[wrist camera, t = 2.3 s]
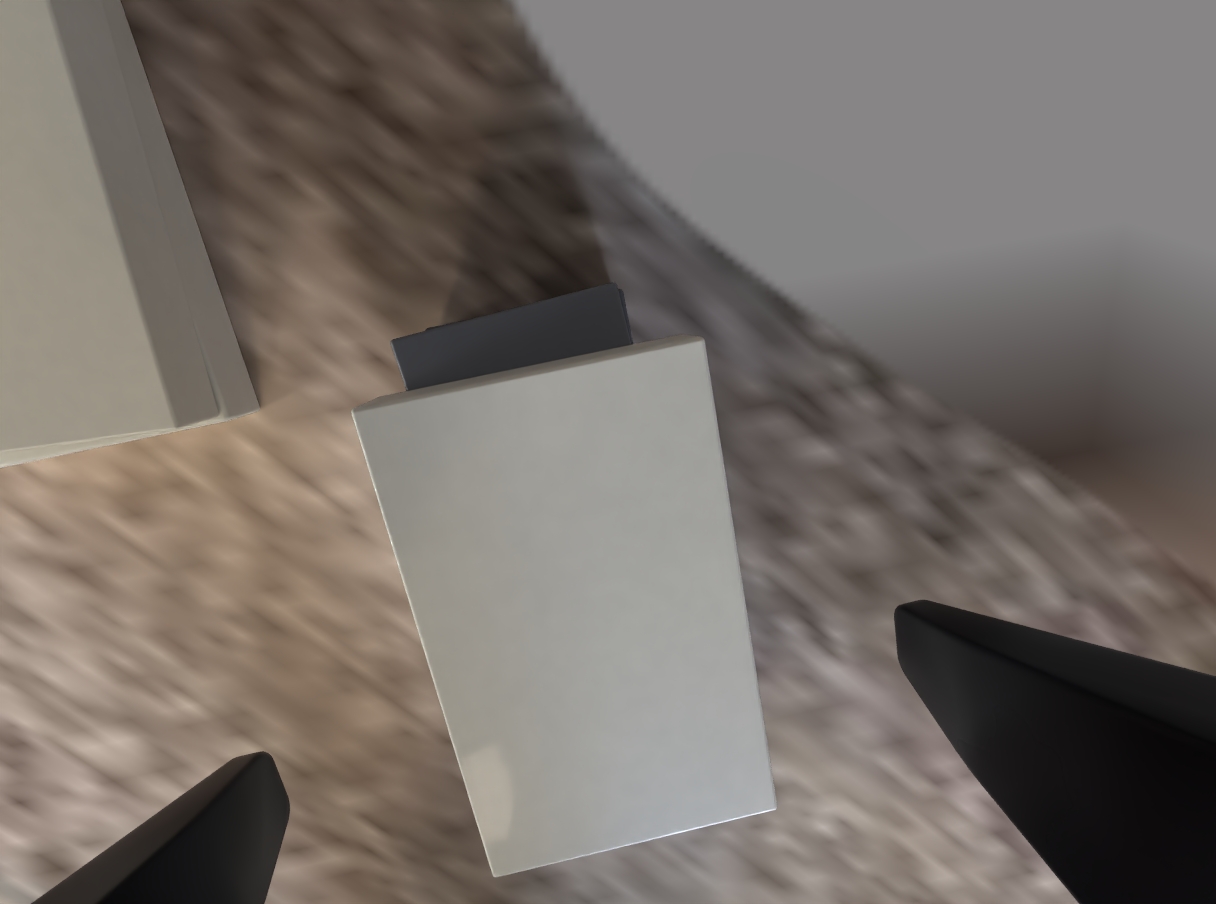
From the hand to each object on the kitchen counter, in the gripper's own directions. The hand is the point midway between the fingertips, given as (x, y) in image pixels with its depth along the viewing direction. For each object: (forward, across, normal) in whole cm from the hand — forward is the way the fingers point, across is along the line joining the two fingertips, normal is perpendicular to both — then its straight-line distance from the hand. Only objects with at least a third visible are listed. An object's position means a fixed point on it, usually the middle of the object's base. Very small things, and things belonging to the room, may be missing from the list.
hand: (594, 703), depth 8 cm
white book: (+3, 0, 0) cm, 3 cm away
